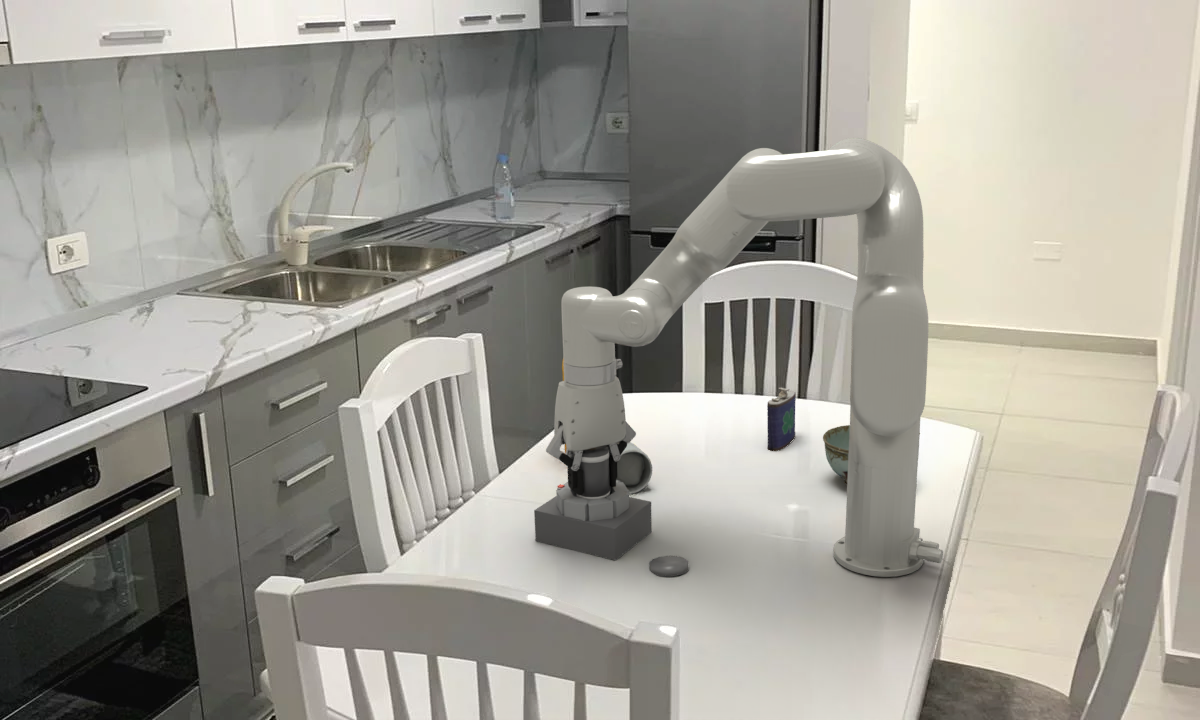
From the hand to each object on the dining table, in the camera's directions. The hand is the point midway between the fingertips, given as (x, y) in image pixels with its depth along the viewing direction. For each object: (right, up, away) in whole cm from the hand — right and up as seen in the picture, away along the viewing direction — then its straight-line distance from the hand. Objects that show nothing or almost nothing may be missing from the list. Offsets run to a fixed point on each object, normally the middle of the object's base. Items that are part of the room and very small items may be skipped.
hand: (593, 486), depth 173 cm
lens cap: (+11, -11, -8) cm, 18 cm away
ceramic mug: (+4, -3, +21) cm, 21 cm away
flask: (+34, +3, +38) cm, 52 cm away
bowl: (+45, -2, +20) cm, 49 cm away
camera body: (0, -8, +2) cm, 8 cm away
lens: (0, -2, +1) cm, 2 cm away
